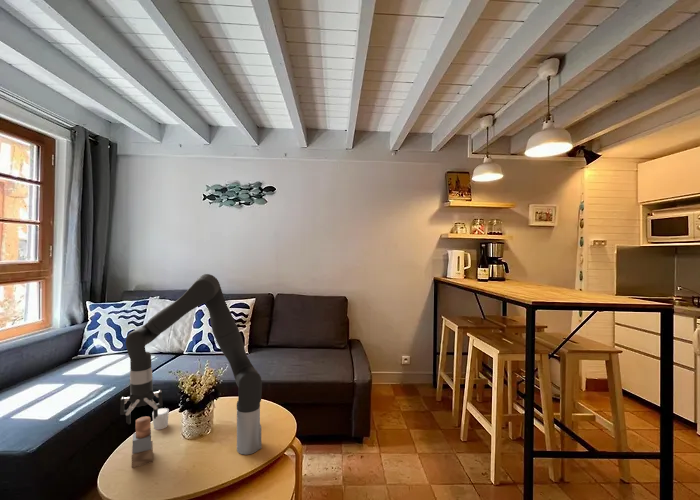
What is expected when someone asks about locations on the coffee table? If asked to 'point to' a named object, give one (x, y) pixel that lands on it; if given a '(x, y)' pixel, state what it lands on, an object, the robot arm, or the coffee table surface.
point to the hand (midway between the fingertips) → (142, 420)
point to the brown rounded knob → (143, 427)
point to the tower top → (141, 444)
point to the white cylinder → (161, 419)
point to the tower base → (142, 457)
